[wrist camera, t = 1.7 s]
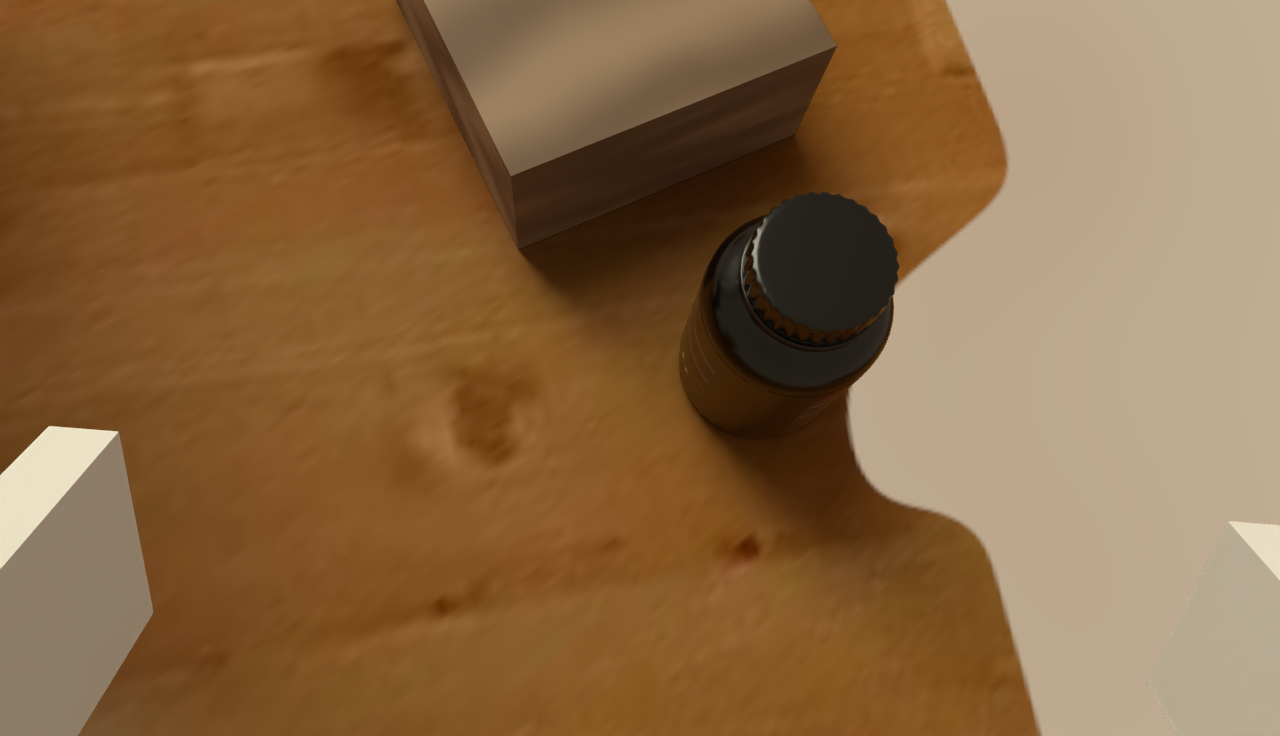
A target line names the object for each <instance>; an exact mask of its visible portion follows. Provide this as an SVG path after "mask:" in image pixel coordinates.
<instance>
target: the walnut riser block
mask: <svg viewBox="0 0 1280 736" xmlns="http://www.w3.org/2000/svg"><path fill="white" fill-rule="evenodd" d="M397 2H398V4H399V6H400V8H401V10H402V12H403V14H404V16H405V18H406V20H407V23H408V25H409V27H410V29H411V31H412V33H413V35H414V37H415V39H416V41H417V43H418V45H419V47H420V49H421V51H422V53H423V55H424V57H425V59H426V61H427V64H428V66H429V68H430V70H431V72H432V74H433V76H434V78H435V80H436V82H437V84H438V86H439V88H440V90H441V92H442V94H443V96H444V98H445V100H446V102H447V104H448V107H449V109H450V111H451V113H452V115H453V117H454V119H455V121H456V123H457V125H458V127H459V129H460V131H461V133H462V135H463V137H464V139H465V141H466V143H467V145H468V148H469V150H470V152H471V154H472V156H473V158H474V160H475V162H476V164H477V166H478V168H479V170H480V172H481V174H482V176H483V178H484V180H485V182H486V184H487V186H488V189H489V191H490V193H491V195H492V197H493V199H494V201H495V203H496V205H497V207H498V209H499V211H500V213H501V215H502V217H503V219H504V221H505V223H506V225H507V227H508V230H509V232H510V234H511V236H512V238H513V240H514V242H515V244H516V246H517V248H518V250H519V249H521V248H524V247H526V246H528V245H531V244H533V243H536V242H538V241H540V240H543V239H545V238H548V237H550V236H553V235H555V234H557V233H560V232H562V231H565V230H567V229H569V228H572V227H574V226H577V225H579V224H581V223H584V222H586V221H589V220H591V219H593V218H596V217H598V216H601V215H603V214H605V213H608V212H610V211H613V210H615V209H617V208H620V207H622V206H625V205H627V204H629V203H632V202H634V201H637V200H639V199H641V198H644V197H646V196H649V195H651V194H653V193H656V192H658V191H661V190H663V189H665V188H668V187H670V186H673V185H675V184H677V183H680V182H682V181H685V180H687V179H689V178H692V177H694V176H697V175H699V174H701V173H704V172H706V171H709V170H711V169H713V168H716V167H718V166H721V165H723V164H725V163H728V162H730V161H733V160H735V159H737V158H740V157H742V156H745V155H747V154H749V153H752V152H754V151H757V150H759V149H761V148H764V147H766V146H769V145H771V144H773V143H776V142H778V141H781V140H783V139H785V138H788V137H790V136H793V135H795V133H796V131H797V129H798V126H799V124H800V122H801V120H802V118H803V116H804V114H805V112H806V110H807V108H808V106H809V103H810V101H811V99H812V97H813V95H814V93H815V91H816V89H817V87H818V85H819V83H820V81H821V78H822V76H823V74H824V72H825V70H826V68H827V66H828V64H829V62H830V60H831V58H832V55H833V53H834V51H835V49H836V47H837V45H836V43H835V41H834V40H833V38H832V36H831V35H830V33H829V31H828V30H827V28H826V26H825V25H824V23H823V21H822V20H821V18H820V16H819V15H818V13H817V11H816V10H815V8H814V6H813V5H812V3H811V1H810V0H397Z"/></svg>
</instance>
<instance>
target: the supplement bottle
mask: <svg viewBox="0 0 1280 736" xmlns="http://www.w3.org/2000/svg"><path fill="white" fill-rule="evenodd" d="M897 253H898V252H897V251H896V249H895V248H894V244H893V239H892V237H891V236H890V235H889V234H888V232H887V228H886V227H885V226H884V225H883V224H882V223H880V221H879V219H878V217H877V216H876V215H874V214H872V213H870V212H869V211H868V209H867V208H866V207H865V206H862V205H858V204H857V203H856V202H855V201H854V200H853V199H846V198H844V197H843V196H841V195H840V194H835V195H831V194H829V193H827V192H823V193H820V194H817V193H812V192H810V193H808V194H807V195H797V196H795V197H794V198H793V199H789V200H784V201H783V202H782V203H781V205H780V206H777V207H774V208H772V209H771V211H770V213H769V214H767V215H764V216H761V217H758V218H755V219H753V220H751V221H749V222H747V223H746V224H744V225H742V226H741V227H739V228H738V229H737V230H735V231H734V232H733V233H732V234H730V235H729V236H728V237H727V238H726V239H725V240H724V242H723V243H722V244H721V245H720V246H719V248H718V249H717V251H716V252H715V254H714V256H713V257H712V259H711V261H710V263H709V265H708V267H707V270H706V272H705V274H704V277H703V280H702V283H701V285H700V288H699V291H698V294H697V296H696V299H695V302H694V305H693V307H692V310H691V313H690V316H689V319H688V321H687V324H686V327H685V330H684V333H683V337H682V340H681V345H680V352H679V367H680V374H681V379H682V382H683V385H684V388H685V390H686V392H687V394H688V396H689V398H690V400H691V401H692V403H693V404H694V406H695V407H696V408H697V409H698V411H699V412H700V413H701V414H702V415H703V416H704V417H705V418H706V419H708V420H709V421H710V422H711V423H713V424H714V425H716V426H717V427H719V428H720V429H722V430H724V431H726V432H728V433H731V434H733V435H737V436H740V437H744V438H750V439H772V438H778V437H782V436H785V435H788V434H791V433H793V432H795V431H797V430H799V429H801V428H802V427H804V426H805V425H807V424H808V423H810V422H811V421H812V420H813V419H815V418H816V417H817V416H818V415H819V414H821V413H822V412H823V411H824V410H825V409H826V408H827V407H828V406H829V405H830V404H832V403H833V402H834V401H835V400H836V399H837V398H838V397H839V396H840V395H842V394H843V393H844V392H845V391H846V390H847V389H848V388H849V387H850V386H851V385H853V384H854V383H855V382H856V381H857V380H858V379H859V378H860V377H861V376H862V375H863V374H864V373H865V372H866V371H867V370H868V369H869V368H870V367H871V366H872V365H873V363H874V362H875V361H876V359H877V358H878V357H879V355H880V354H881V352H882V351H883V349H884V347H885V345H886V343H887V340H888V337H889V335H890V331H891V327H892V322H893V312H894V305H893V304H894V303H893V295H894V286H895V285H896V283H897V282H898V276H897V271H898V269H899V264H898V262H897Z"/></svg>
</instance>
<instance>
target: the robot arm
mask: <svg viewBox="0 0 1280 736" xmlns="http://www.w3.org/2000/svg"><path fill="white" fill-rule="evenodd" d="M153 613H154V612H153V607H152V602H151V597H150V592H149V586H148V581H147V576H146V571H145V566H144V560H143V555H142V550H141V545H140V540H139V534H138V529H137V524H136V519H135V514H134V508H133V503H132V498H131V493H130V488H129V483H128V477H127V472H126V467H125V462H124V457H123V451H122V446H121V441H120V436H119V432H117V431H104V430H92V429H80V428H67V427H55V426H49V427H48V428H47V429H46V430H45V431H44V432H43V433H42V434H41V435H40V436H39V437H38V438H37V439H36V440H35V441H34V442H33V443H32V444H31V445H30V446H29V447H28V448H27V449H26V450H25V451H24V452H23V453H22V454H21V455H20V456H19V457H18V458H17V459H16V460H15V461H14V462H13V463H12V464H11V465H10V466H9V467H8V468H7V469H6V470H5V471H4V472H3V473H2V474H1V475H0V736H78V735H79V733H80V732H81V730H82V728H83V727H84V725H85V723H86V722H87V720H88V719H89V717H90V715H91V714H92V712H93V710H94V709H95V707H96V705H97V704H98V702H99V701H100V699H101V697H102V696H103V694H104V692H105V691H106V689H107V688H108V686H109V684H110V683H111V681H112V679H113V678H114V676H115V675H116V673H117V671H118V670H119V668H120V666H121V665H122V663H123V662H124V660H125V658H126V657H127V655H128V653H129V652H130V650H131V649H132V647H133V645H134V644H135V642H136V640H137V639H138V637H139V636H140V634H141V632H142V631H143V629H144V627H145V626H146V624H147V622H148V621H149V619H150V618H151V616H152V614H153ZM1146 683H1147V685H1148V686H1149V688H1150V690H1151V691H1152V693H1153V695H1154V696H1155V698H1156V700H1157V701H1158V703H1159V705H1160V706H1161V708H1162V709H1163V711H1164V713H1165V715H1166V716H1167V718H1168V719H1169V721H1170V723H1171V724H1172V726H1173V728H1174V729H1175V731H1176V733H1177V734H1178V736H1280V525H1268V524H1255V523H1243V522H1231V521H1228V522H1227V524H1226V526H1225V528H1224V530H1223V532H1222V534H1221V536H1220V538H1219V540H1218V542H1217V544H1216V545H1215V547H1214V549H1213V551H1212V553H1211V555H1210V557H1209V559H1208V561H1207V563H1206V565H1205V567H1204V569H1203V571H1202V573H1201V575H1200V577H1199V579H1198V581H1197V583H1196V585H1195V586H1194V588H1193V590H1192V592H1191V594H1190V596H1189V598H1188V600H1187V602H1186V604H1185V606H1184V608H1183V610H1182V612H1181V614H1180V616H1179V618H1178V620H1177V622H1176V624H1175V626H1174V628H1173V630H1172V631H1171V634H1170V635H1169V637H1168V639H1167V641H1166V643H1165V645H1164V647H1163V649H1162V651H1161V653H1160V655H1159V657H1158V659H1157V661H1156V663H1155V665H1154V667H1153V669H1152V670H1151V672H1150V674H1149V676H1148V678H1147V680H1146Z"/></svg>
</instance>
